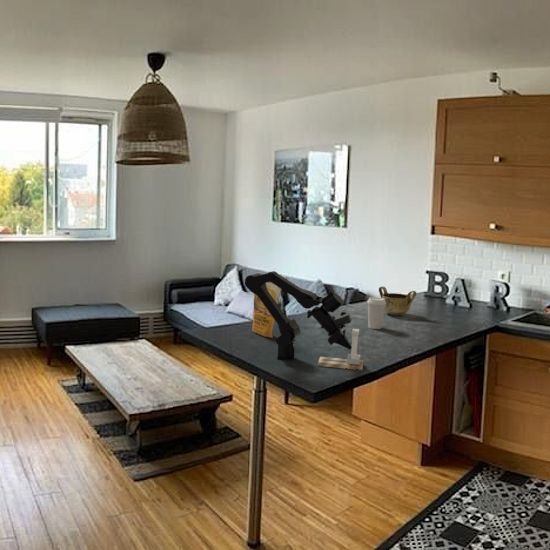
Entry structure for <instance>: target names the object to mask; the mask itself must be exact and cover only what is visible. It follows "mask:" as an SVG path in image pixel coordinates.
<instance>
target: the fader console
mask: <svg viewBox="0 0 550 550" xmlns="http://www.w3.org/2000/svg"><path fill="white" fill-rule="evenodd" d="M317 366H318V367H325V368H326V367H327V368H328V367H329V368H337V369H346V368H347V369H349V370H356V369H358V370H357V371H359V370H360V371H363V370H362V369H363V368H364V360H361V359H360V364H359V365H357V364H347V358H339V357H327V356H320V357H319V358H318V363H317ZM347 369H346V370H347Z"/></svg>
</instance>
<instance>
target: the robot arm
mask: <svg viewBox="0 0 550 550" xmlns="http://www.w3.org/2000/svg"><path fill="white" fill-rule="evenodd" d="M261 274H262V275H260V274H256V273H253V274H250V275H247V276H246V277H245V278H244V285H245V287H246V288H247V289H248V290H249V291H250V292H251V293H252V294H253V295H254V294H255V295H257V296H258V297H259V299H260V300H261V301H262V303H263V304H264V306H265V307H266V308H267V310H268V311H269V313H270V314H271V315H272V317H273V318H274V322H275V323H277V326H278V331H279V333H280V336H278V337H277V338H276V339H275V341H276V344H277V357H276V359H277V360H288V361H290V360H291V361H293V360H294V358H295V355H296V346H295V342H296V341H297V339H298V338H299V337H300V335H301V328H300V325H299V324H298V323H297V321H296V320H295V319H294V318H292V319H290V318H288V317H287V316H286V314H285V313H284V311H283V310H282V309H281V307H280V306H279V303H278V304H277V303H276V302H275V300H274V299H273V297H272V296H271V295H270V293H269V292H268V290H267V287H266V283H267V282H271V283H273V284H275V285H276V286H278V287H279V288H281V291H284V292H286V293H287V294H289V295H290V296H292V297H293V298H294V299H295V300H296V302H297V303H298V304H299V305H300V306H301V307H302V308H303V309H306V310H307V309H308V310H307V311H306V312H307V315H306V316H307V317H306V318H307V319H310V318H311V317H313V319H315V320H316V322H317V323H318V324H319V325H320V328H321V329H323V330H324V331H325V332H326V333H327V342H328V343H329V345H330V346H332V345H333V344H337V345H339V346H341V347H344V348H346V349H348V350H351V349H352V344H351V343H350V341H349V339H348V337H347V336H346V333H347V332H346V331H347V329H344V328H345V327H346V326H347V324H350V323H351V322H352V318H351V315H350V313H348V312H346V311H343V310H342V311H341V312H340V315H339V316H337V317H336V316H335V315H331V313H335V311H337V310H338V309H339V308H341V306H343V305H344V304H345V303H344V300H343V298H342V297H341V295H339V294H337V293H335V291H333V290H331V291H330V292H329V293H328V294H327V295H326V296H325V297H322V296H319V295H317V293H315V292H313V291H310V290H309V289H304V288H302V287H300V286H298V285H296V284H295V283H294V282H292V281H290V280H288V279H287V278H285V277H284V276H282V275H281V274H279V273H278V272H277V271H273V270H272V271H269V272H267V273H261ZM319 305H320V306H319ZM342 329H343V330H342Z"/></svg>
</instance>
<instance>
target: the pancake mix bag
mask: <svg viewBox="0 0 550 550" xmlns="http://www.w3.org/2000/svg"><path fill="white" fill-rule="evenodd" d="M255 274H260V275H262V274H263V273H259V272H257V273H255ZM266 287H267V290H268V292H269V293H270V295H271V296H272V297H273V299H274V300H275V302H276V303H277V304H278V305H279V301H280V297H281V292H282V289H281V288H279V287H278V286H276V285H275V284H273V283H271V282H267V283H266ZM253 295H254V296H253V318H252V319H253V320H252V328H251V330H252V331H253V333H254V334H256V333H257V335H260V336H261V337H264V338H274V336H273V328H274V324H275V320H274V318H273V317H272V315H271V314H270V313H269V311H268V310H267V308H266V307H265V306H264V304H263V303H262V301H261V300H260V299H259V297H258V296H257V295H255V294H254V293H253ZM252 331H251V332H252Z"/></svg>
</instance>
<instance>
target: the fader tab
mask: <svg viewBox="0 0 550 550" xmlns="http://www.w3.org/2000/svg"><path fill="white" fill-rule="evenodd" d="M359 334H360V329H359V328H352V331H351V346H352V348H351V349H350V350H351V351H350V352H351V353H347V357H346V359H347V364H357V365H359V364H360V360H361V354H358V341H359V339H358V338H359Z"/></svg>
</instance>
